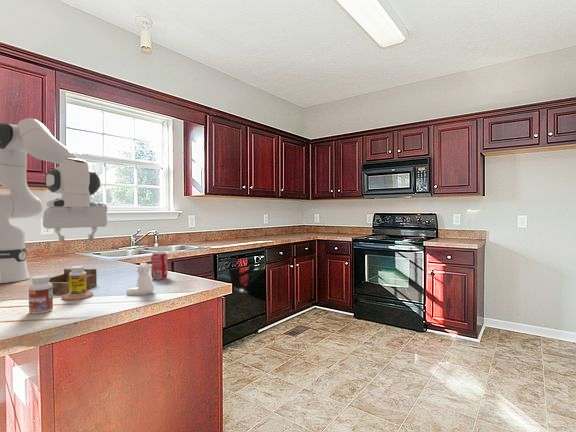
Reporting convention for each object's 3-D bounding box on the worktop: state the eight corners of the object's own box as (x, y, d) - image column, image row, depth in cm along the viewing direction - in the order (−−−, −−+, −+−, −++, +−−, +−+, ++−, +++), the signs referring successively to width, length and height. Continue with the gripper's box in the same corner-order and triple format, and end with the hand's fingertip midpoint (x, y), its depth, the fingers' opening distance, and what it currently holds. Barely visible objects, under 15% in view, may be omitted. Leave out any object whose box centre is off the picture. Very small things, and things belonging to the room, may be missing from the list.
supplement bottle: (69, 297, 125) (68, 268, 124) (68, 293, 129) (68, 266, 129) (87, 295, 128) (86, 267, 128) (86, 291, 132) (85, 265, 132)
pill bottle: (24, 314, 107) (24, 279, 106) (35, 309, 113) (34, 275, 113) (47, 313, 108) (46, 278, 108) (56, 308, 114) (55, 274, 114)
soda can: (164, 276, 166) (163, 251, 165) (169, 278, 160) (169, 253, 160) (149, 278, 161) (148, 252, 161) (154, 281, 156) (154, 254, 155)
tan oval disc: (55, 300, 124) (55, 298, 124) (73, 293, 134) (73, 291, 134) (82, 300, 123) (82, 298, 123) (98, 293, 133) (98, 291, 133)
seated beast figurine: (144, 289, 140) (144, 260, 139) (161, 291, 136) (160, 261, 136) (125, 295, 131) (124, 263, 131) (142, 297, 128) (142, 264, 127)
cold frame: (41, 292, 134) (41, 274, 134) (65, 285, 148) (65, 268, 148) (75, 293, 134) (75, 275, 134) (96, 285, 147) (96, 268, 147)
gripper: (104, 202, 137) (104, 237, 137) (41, 202, 123) (42, 241, 123) (109, 202, 132) (109, 238, 133) (44, 202, 118) (45, 242, 119)
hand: (76, 239), depth 128 cm, fingers open, 8 cm apart
